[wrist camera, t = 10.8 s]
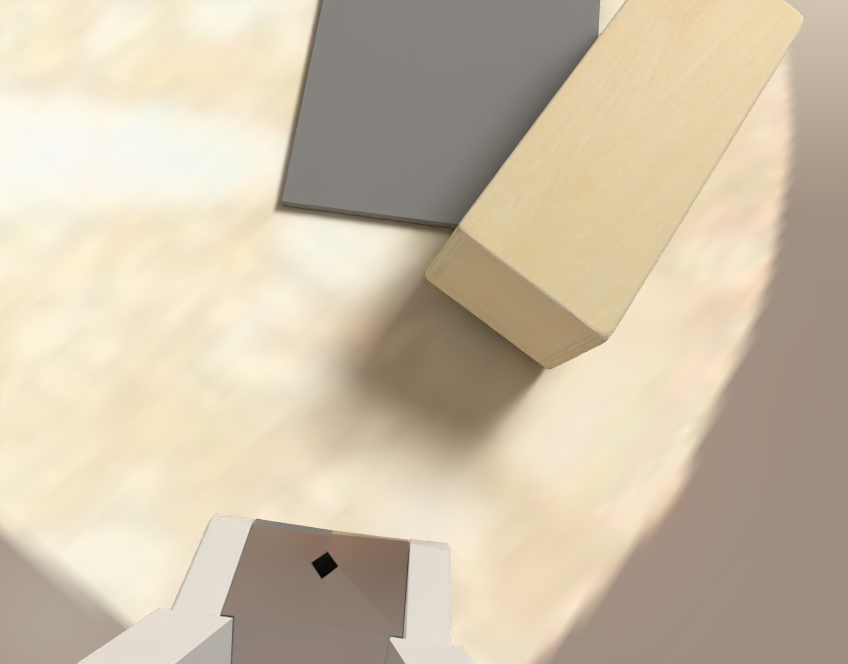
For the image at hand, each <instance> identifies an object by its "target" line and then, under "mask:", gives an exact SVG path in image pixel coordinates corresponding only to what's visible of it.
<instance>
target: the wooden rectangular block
mask: <svg viewBox="0 0 848 664" xmlns="http://www.w3.org/2000/svg"><path fill="white" fill-rule="evenodd" d="M803 23H804V19H803V17H802V15H801V14H800V13H799V12H798V11H797V10H796V9H794V8H793V7H792V6H790V5H789V4H788V3H787V2H785V1H784V0H626V1H625V2H624V4H623V5H622V6H621V8H620V9H619V10H618V12H617V13H616V14H615V16H614V17H613V18H612V20H611V21H610V22H609V24H608V25H607V26H606V28H605V29H604V30H603V32H602V33H601V34H600V36H599V37H598V38H597V40H596V41H595V42H594V44H593V45H592V46H591V48H590V49H589V50H588V52H587V53H586V54H585V56H584V57H583V58H582V60H581V61H580V62H579V64H578V65H577V66H576V68H575V69H574V70H573V72H572V73H571V74H570V76H569V77H568V78H567V80H566V81H565V82H564V84H563V85H562V86H561V88H560V89H559V90H558V92H557V93H556V94H555V96H554V97H553V98H552V100H551V101H550V103H549V104H548V105H547V107H546V108H545V109H544V111H543V112H542V113H541V115H540V116H539V117H538V119H537V120H536V121H535V123H534V124H533V125H532V127H531V128H530V129H529V131H528V132H527V133H526V135H525V136H524V137H523V139H522V140H521V141H520V143H519V144H518V145H517V147H516V148H515V149H514V151H513V152H512V153H511V155H510V156H509V157H508V159H507V160H506V161H505V163H504V164H503V165H502V167H501V168H500V169H499V171H498V172H497V173H496V175H495V176H494V178H493V179H492V180H491V182H490V183H489V184H488V186H487V187H486V188H485V190H484V191H483V192H482V194H481V195H480V196H479V198H478V199H477V200H476V201H475V203H474V204H473V205H472V207H471V208H470V210H469V211H468V212H467V214H466V215H465V216H464V218H463V219H462V220H461V222H460V223H459V225H458V226H457V228H456V229H455V230H454V232H453V233H452V234H451V236H450V237H449V239H448V240H447V241H446V243H445V244H444V246H443V247H442V248H441V250H440V251H439V252H438V254H437V255H436V257H435V258H434V259H433V261H432V262H431V263H430V265H429V266H428V267H427V269H426V270H425V277H426V279H427V280H428V281H429V282H431V283H432V284H433V285H435V286H436V287H437V288H439V289H440V290H441V291H443V292H444V293H445V294H447V295H448V296H450V297H451V298H452V299H454V300H455V301H456V302H458V303H459V304H460V305H462V306H463V307H464V308H466V309H467V310H468V311H470V312H471V313H472V314H474V315H475V316H476V317H478V318H479V319H480V320H482V321H483V322H484V323H486V324H487V325H488V326H490V327H491V328H492V329H494V330H495V331H496V332H498V333H499V334H500V335H502V336H503V337H504V338H506V339H507V340H508V341H510V342H511V343H512V344H514V345H515V346H516V347H518V348H519V349H520V350H522V351H523V352H524V353H526V354H527V355H528V356H530V357H531V358H532V359H534V360H535V361H536V362H538V363H539V364H541V365H542V366H543V367H545V368H546V369H552V368H554V367H556V366H558V365H560V364H562V363H564V362H567V361H569V360H571V359H573V358H575V357H577V356H579V355H581V354H582V353H585V352H587V351H589V350H591V349H593V348H595V347H597V346H599V345H601V344H603V343H604V342H606V341H607V340H608V338H609V337H610V336H611V334H612V333H613V332H614V330H615V329H616V327H617V326H618V324H619V322H620V321H621V319H622V318H623V316H624V314H625V313H626V311H627V310H628V308H629V306H630V305H631V303H632V301H633V300H634V298H635V296H636V295H637V293H638V291H639V290H640V288H641V287H642V285H643V283H644V282H645V280H646V279H647V277H648V275H649V274H650V272H651V270H652V269H653V267H654V266H655V264H656V262H657V261H658V259H659V258H660V256H661V254H662V253H663V251H664V249H665V248H666V246H667V245H668V243H669V241H670V240H671V238H672V237H673V235H674V233H675V232H676V230H677V229H678V227H679V225H680V224H681V222H682V220H683V219H684V217H685V216H686V214H687V212H688V211H689V209H690V207H691V206H692V204H693V202H694V201H695V199H696V198H697V196H698V194H699V193H700V191H701V190H702V188H703V186H704V185H705V183H706V181H707V180H708V178H709V177H710V175H711V173H712V172H713V170H714V168H715V167H716V165H717V163H718V162H719V160H720V159H721V157H722V155H723V154H724V152H725V150H726V149H727V147H728V145H729V144H730V142H731V141H732V139H733V137H734V136H735V134H736V133H737V131H738V129H739V128H740V126H741V125H742V123H743V121H744V120H745V118H746V116H747V115H748V113H749V112H750V110H751V108H752V107H753V105H754V104H755V102H756V100H757V99H758V97H759V96H760V94H761V92H762V91H763V89H764V87H765V86H766V84H767V83H768V81H769V79H770V78H771V76H772V75H773V73H774V71H775V70H776V68H777V67H778V65H779V63H780V62H781V60H782V58H783V57H784V55H785V53H786V52H787V50H788V48H789V47H790V45H791V44H792V42H793V40H794V39H795V37H796V36H797V34H798V32H799V30H800V29H801V27H802V25H803Z"/></svg>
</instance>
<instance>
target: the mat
mask: <svg viewBox="0 0 848 664" xmlns="http://www.w3.org/2000/svg"><path fill="white" fill-rule="evenodd" d="M599 10H600V0H323V2H322V7H321V12H320V17H319V22H318V26H317V31H316V36H315V41H314V46H313V51H312V56H311V60H310V65H309V70H308V75H307V80H306V85H305V90H304V95H303V99H302V104H301V109H300V114H299V119H298V124H297V129H296V133H295V138H294V143H293V148H292V153H291V158H290V163H289V167H288V172H287V177H286V182H285V187H284V192H283V197H282V204H283V206H290V207H297V208H305V209H312V210H320V211H327V212H335V213H342V214H350V215H357V216H365V217H372V218H380V219H387V220H395V221H402V222H410V223H418V224H425V225H433V226H440V227H448V228H455V229H456V228H457V226H458V225H459V223H460V222H461V220H462V219H463V218H464V216H465V215H466V214H467V212H468V211H469V210H470V208H471V207H472V205H473V204H474V203H475V201H476V200H477V199H478V198H479V196H480V195H481V194H482V192H483V191H484V190H485V188H486V187H487V186H488V184H489V183H490V182H491V180H492V179H493V178H494V176H495V175H496V173H497V172H498V171H499V169H500V168H501V167H502V165H503V164H504V163H505V161H506V160H507V159H508V157H509V156H510V155H511V153H512V152H513V151H514V149H515V148H516V147H517V145H518V144H519V143H520V141H521V140H522V139H523V137H524V136H525V135H526V133H527V132H528V131H529V129H530V128H531V127H532V125H533V124H534V123H535V121H536V120H537V119H538V117H539V116H540V115H541V113H542V112H543V111H544V109H545V108H546V107H547V105H548V104H549V103H550V101H551V100H552V98H553V97H554V96H555V94H556V93H557V92H558V90H559V89H560V88H561V86H562V85H563V84H564V82H565V81H566V80H567V78H568V77H569V76H570V74H571V73H572V72H573V70H574V69H575V68H576V66H577V65H578V64H579V62H580V61H581V60H582V58H583V57H584V56H585V54H586V53H587V52H588V50H589V49H590V48H591V46H592V45H593V44H594V42H595V41H596V40H597V38H598V29H599Z"/></svg>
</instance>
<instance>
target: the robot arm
mask: <svg viewBox="0 0 848 664" xmlns="http://www.w3.org/2000/svg"><path fill="white" fill-rule="evenodd" d="M77 664H476V663H475V662H474V661H473V659H472V658H471V657H470V655H469V654H468V652H467V651H466V650H465V648H464V647H462V646H456V645H451V559H450V547H449V545H448V543H441V542H431V541H422V540H413V539H410V540H409V541H408V540H406V539H398V538H390V537H382V536H373V535H365V534H357V533H349V532H341V531H333V530H326V529H320V528H313V527H307V526H300V525H293V524H287V523H280V522H274V521H267V520H261V519H256V520H254V519H249V518H243V517H236V516H230V515H223V514H217V513H216V514H215V515H214V517H213V518H212V519H211V520H210V521H209V523H208V525H207V527H206V530H205V532H204V534H203V537H202V539H201V541H200V544H199V546H198V548H197V550H196V553H195V555H194V557H193V560H192V562H191V564H190V567H189V569H188V571H187V573H186V576H185V578H184V580H183V583H182V585H181V587H180V590H179V592H178V594H177V596H176V599H175V601H174V603H173V606H172V608H171V610H167V609H157V610H155V611H154V612H152V613H151V614H149V615H148V616H146V617H145V618H144V619H142V620H141V621H139V622H138V623H136V624H135V625H133V626H132V627H130V628H129V629H127V630H126V631H124V632H123V633H121V634H120V635H119V636H117V637H115V638H114V639H113V640H111V641H110V642H108V643H107V644H105V645H104V646H102V647H101V648H99V649H98V650H96V651H95V652H93V653H92V654H90V655H89V656H87V657H86V658H84V659H83V660H81V661H80V662H78V663H77Z"/></svg>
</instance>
